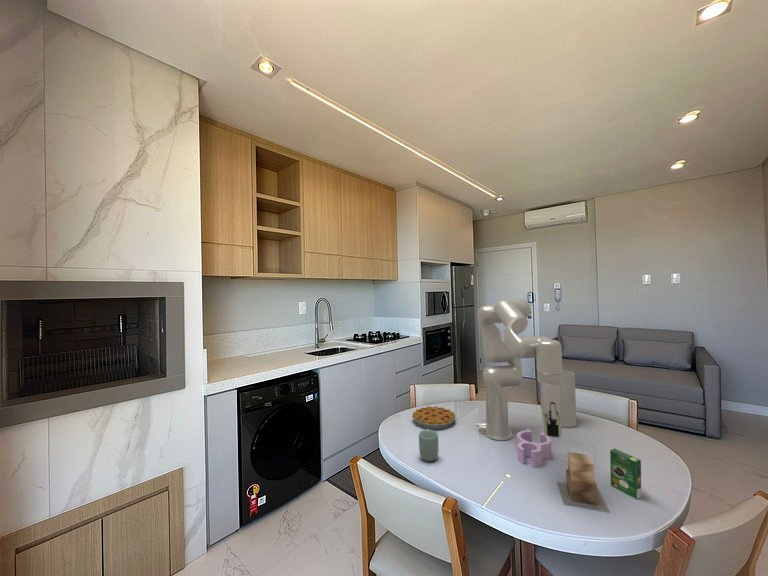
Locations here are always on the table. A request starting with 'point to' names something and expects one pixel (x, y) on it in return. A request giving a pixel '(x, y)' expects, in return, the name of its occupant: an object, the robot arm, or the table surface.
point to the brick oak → (580, 468)
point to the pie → (433, 418)
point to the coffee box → (625, 473)
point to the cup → (428, 445)
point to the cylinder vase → (567, 400)
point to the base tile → (567, 501)
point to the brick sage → (545, 421)
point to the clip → (533, 448)
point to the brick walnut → (581, 491)
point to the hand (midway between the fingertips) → (551, 431)
